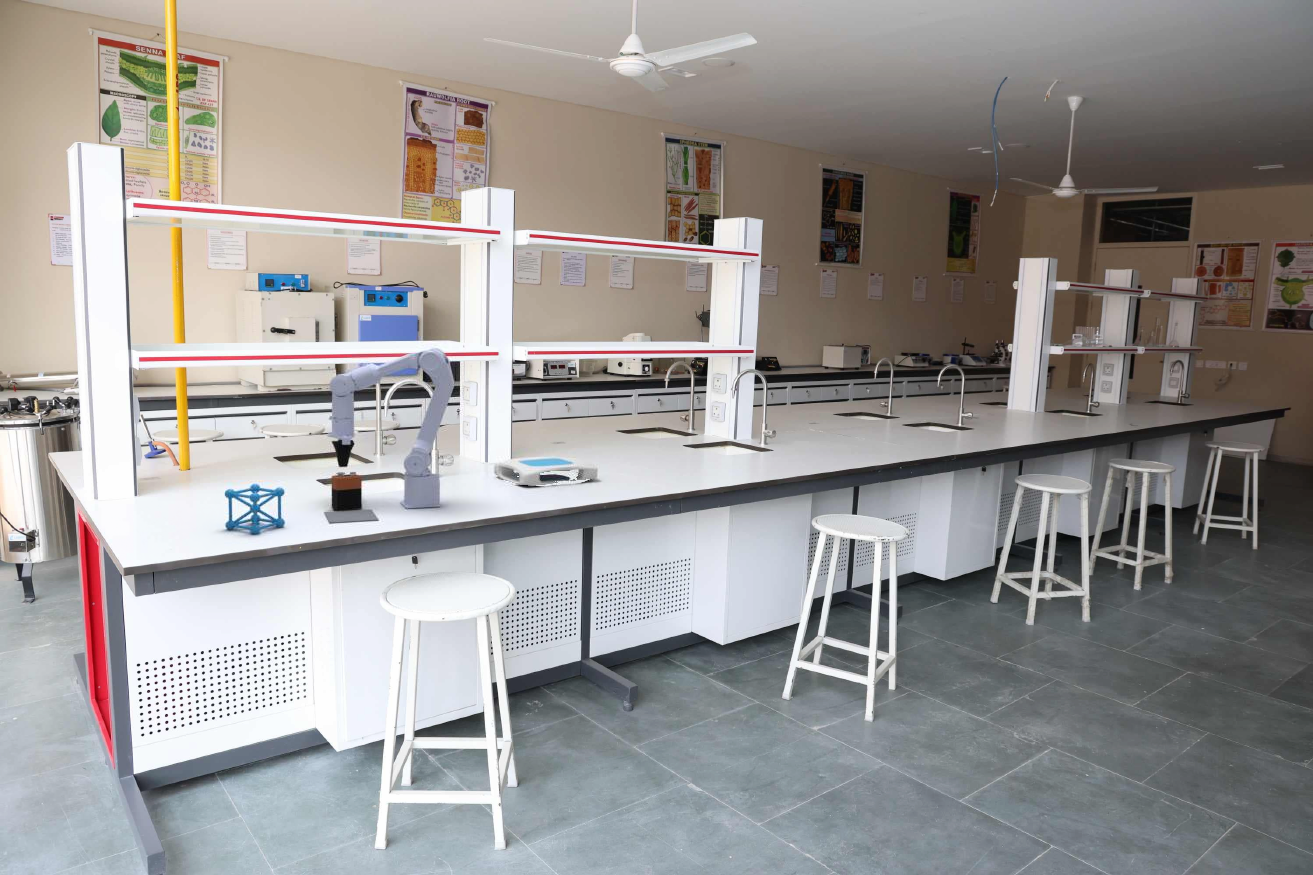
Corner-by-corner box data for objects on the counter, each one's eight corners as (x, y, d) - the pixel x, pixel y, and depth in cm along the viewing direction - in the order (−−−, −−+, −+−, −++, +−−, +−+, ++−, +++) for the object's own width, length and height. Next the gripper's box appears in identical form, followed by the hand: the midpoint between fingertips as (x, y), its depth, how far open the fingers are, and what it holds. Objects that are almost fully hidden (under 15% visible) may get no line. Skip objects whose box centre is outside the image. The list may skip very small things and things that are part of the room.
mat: (371, 510, 237) (371, 509, 237) (378, 520, 227) (378, 519, 227) (324, 512, 232) (324, 511, 232) (329, 523, 221) (329, 522, 221)
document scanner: (598, 482, 294) (598, 464, 293) (524, 489, 277) (525, 469, 276) (564, 472, 310) (565, 454, 309) (493, 478, 293) (493, 459, 292)
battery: (331, 509, 236) (330, 472, 235) (355, 506, 241) (355, 470, 240) (337, 511, 233) (337, 474, 232) (362, 508, 238) (362, 472, 237)
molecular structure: (223, 530, 210) (222, 489, 209) (255, 521, 220) (255, 482, 218) (255, 535, 207) (254, 494, 206) (287, 526, 216) (286, 487, 215)
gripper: (324, 414, 245) (324, 462, 247) (330, 421, 232) (330, 471, 234) (351, 414, 248) (351, 461, 250) (358, 421, 236) (358, 470, 237)
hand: (343, 466), depth 243 cm, fingers closed
